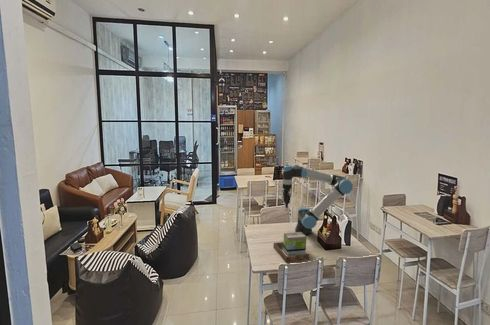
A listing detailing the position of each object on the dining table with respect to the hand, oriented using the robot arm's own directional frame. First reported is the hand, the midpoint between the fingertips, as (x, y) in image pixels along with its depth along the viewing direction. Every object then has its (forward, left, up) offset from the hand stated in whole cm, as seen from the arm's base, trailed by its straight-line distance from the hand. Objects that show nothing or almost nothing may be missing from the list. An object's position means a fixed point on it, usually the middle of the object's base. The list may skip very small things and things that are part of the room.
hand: (286, 210), depth 246 cm
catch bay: (+7, +28, -24) cm, 38 cm away
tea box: (+4, +27, -25) cm, 37 cm away
